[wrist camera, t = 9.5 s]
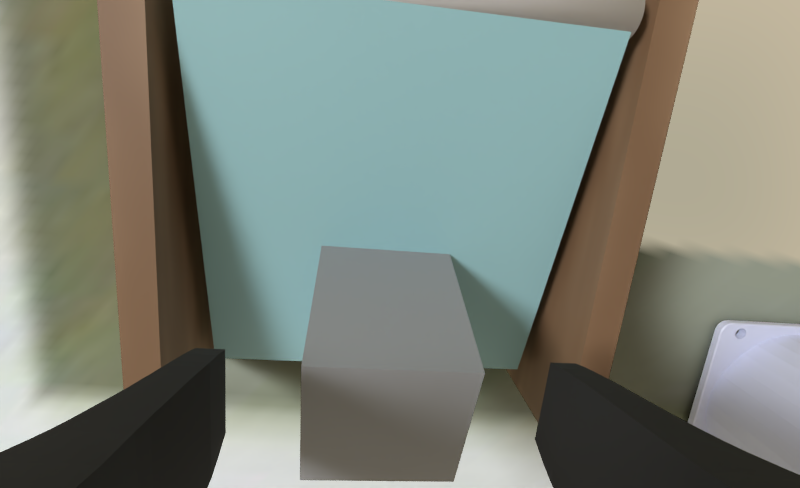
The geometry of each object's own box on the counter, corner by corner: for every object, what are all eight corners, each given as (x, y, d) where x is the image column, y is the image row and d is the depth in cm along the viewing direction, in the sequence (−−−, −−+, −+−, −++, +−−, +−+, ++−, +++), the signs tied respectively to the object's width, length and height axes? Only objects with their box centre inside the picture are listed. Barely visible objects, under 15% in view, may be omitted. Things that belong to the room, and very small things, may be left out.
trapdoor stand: (579, 26, 17) (705, -26, 11) (519, 357, 21) (589, 459, 15) (195, -23, 16) (88, -117, 9) (202, 344, 19) (127, 452, 13)
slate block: (449, 254, 14) (485, 373, 10) (430, 348, 16) (453, 481, 12) (321, 245, 14) (301, 366, 10) (318, 343, 16) (299, 480, 12)
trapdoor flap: (636, -196, 12) (737, -260, 9) (496, 308, 20) (520, 371, 17) (193, -279, 11) (116, -391, 7) (237, 294, 19) (211, 359, 16)
